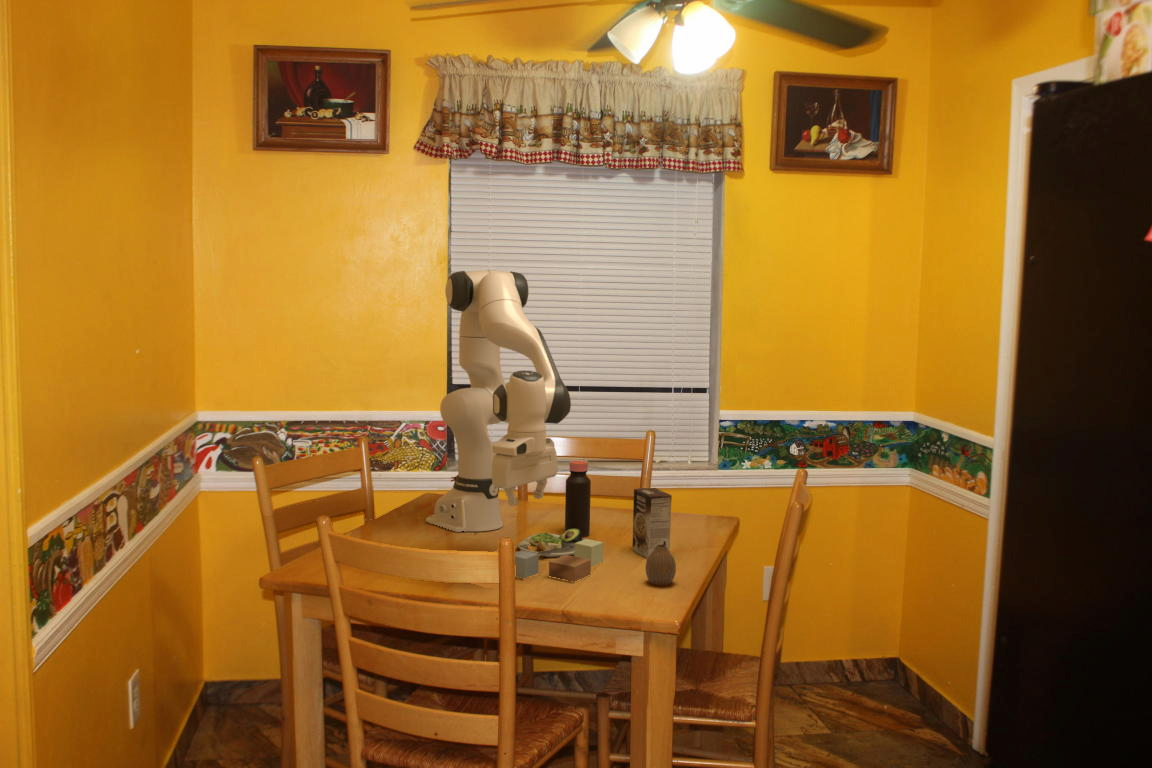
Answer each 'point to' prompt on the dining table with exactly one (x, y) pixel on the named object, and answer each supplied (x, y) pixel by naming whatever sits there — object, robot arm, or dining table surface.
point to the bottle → (578, 498)
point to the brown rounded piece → (660, 566)
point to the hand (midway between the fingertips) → (525, 501)
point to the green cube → (589, 550)
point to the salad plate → (553, 543)
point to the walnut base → (569, 568)
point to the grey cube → (526, 563)
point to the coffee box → (651, 520)
